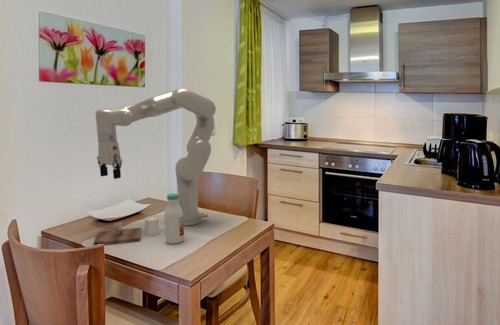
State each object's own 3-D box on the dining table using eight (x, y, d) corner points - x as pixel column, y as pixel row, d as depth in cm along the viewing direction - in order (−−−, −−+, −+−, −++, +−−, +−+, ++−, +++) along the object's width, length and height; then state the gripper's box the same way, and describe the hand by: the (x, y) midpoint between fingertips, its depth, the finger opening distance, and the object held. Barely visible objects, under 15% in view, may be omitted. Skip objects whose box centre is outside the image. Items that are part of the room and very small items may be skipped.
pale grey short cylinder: (159, 230, 160) (158, 215, 159) (159, 234, 154) (159, 219, 153) (145, 231, 158) (144, 216, 157) (145, 236, 152) (144, 220, 151)
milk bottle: (175, 245, 142) (173, 197, 139) (161, 242, 146) (159, 195, 143) (188, 239, 148) (186, 193, 145) (174, 236, 152) (172, 191, 149)
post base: (141, 230, 159) (140, 217, 158) (140, 241, 147) (139, 226, 146) (98, 234, 154) (97, 220, 153) (93, 246, 142) (92, 230, 141)
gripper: (127, 138, 149) (130, 177, 152) (103, 136, 159) (107, 173, 162) (111, 140, 143) (114, 180, 146) (88, 138, 153) (91, 176, 156)
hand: (110, 177), depth 154 cm, fingers open, 9 cm apart
